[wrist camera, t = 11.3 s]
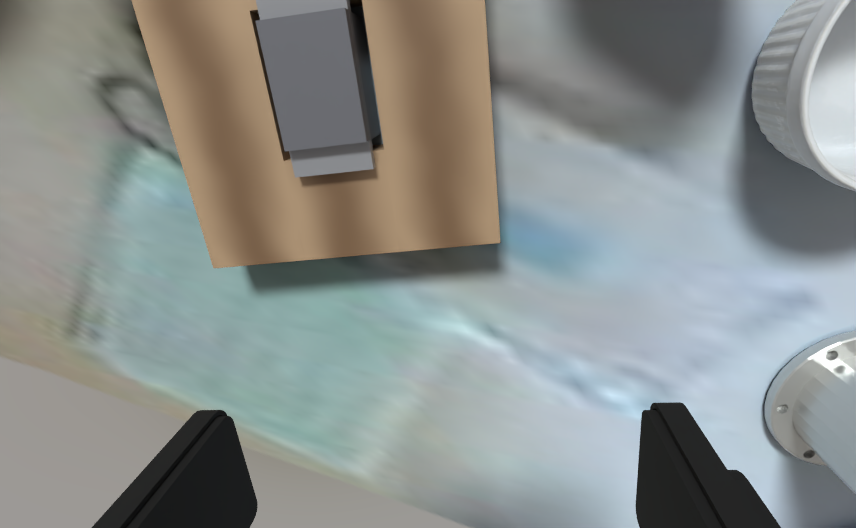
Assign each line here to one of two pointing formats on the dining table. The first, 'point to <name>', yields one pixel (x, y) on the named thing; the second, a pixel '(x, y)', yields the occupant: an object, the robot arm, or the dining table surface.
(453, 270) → the dining table surface
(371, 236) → the wooden board
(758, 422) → the dining table surface
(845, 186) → the ramekin
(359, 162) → the flanged block
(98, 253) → the dining table surface
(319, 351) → the dining table surface
